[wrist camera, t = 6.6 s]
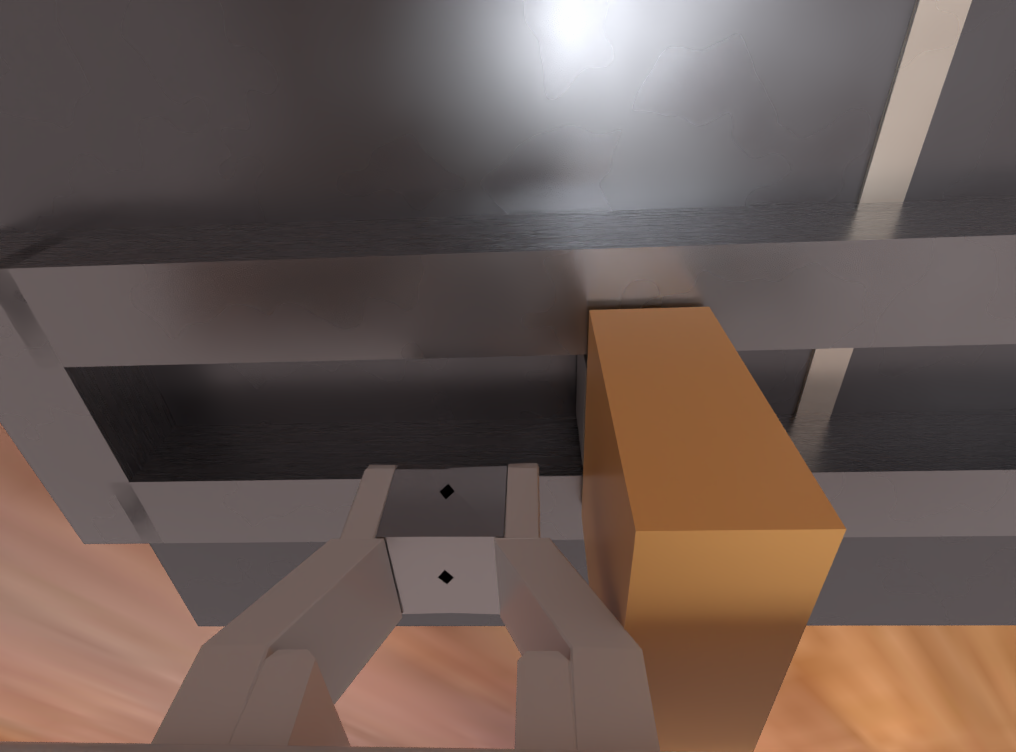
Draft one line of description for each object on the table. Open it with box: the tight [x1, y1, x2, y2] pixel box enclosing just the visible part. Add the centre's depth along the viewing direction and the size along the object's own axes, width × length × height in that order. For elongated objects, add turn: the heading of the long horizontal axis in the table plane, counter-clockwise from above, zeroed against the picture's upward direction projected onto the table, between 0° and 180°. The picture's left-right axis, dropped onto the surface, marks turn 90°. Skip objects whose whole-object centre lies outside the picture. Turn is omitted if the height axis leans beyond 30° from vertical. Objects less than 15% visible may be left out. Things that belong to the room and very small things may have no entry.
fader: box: [576, 307, 846, 752], centre depth 10 cm, size 2×5×7 cm, turn 3°
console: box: [0, 0, 1016, 626], centre depth 13 cm, size 28×20×4 cm
